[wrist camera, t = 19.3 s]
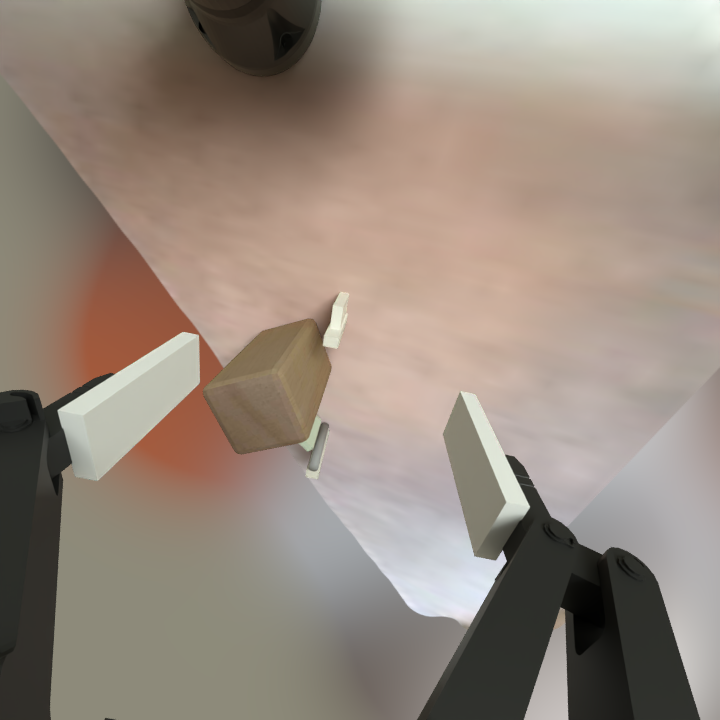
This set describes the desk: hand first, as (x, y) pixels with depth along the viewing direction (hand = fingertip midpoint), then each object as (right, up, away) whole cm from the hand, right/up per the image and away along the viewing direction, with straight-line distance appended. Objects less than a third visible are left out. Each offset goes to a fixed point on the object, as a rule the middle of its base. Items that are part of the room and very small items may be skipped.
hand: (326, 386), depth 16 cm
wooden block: (-9, +3, +39) cm, 40 cm away
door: (-13, -4, +42) cm, 44 cm away
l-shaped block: (-3, -2, +40) cm, 41 cm away
